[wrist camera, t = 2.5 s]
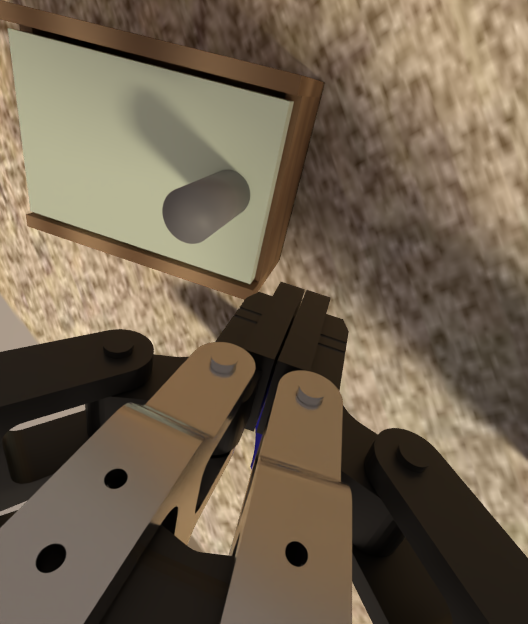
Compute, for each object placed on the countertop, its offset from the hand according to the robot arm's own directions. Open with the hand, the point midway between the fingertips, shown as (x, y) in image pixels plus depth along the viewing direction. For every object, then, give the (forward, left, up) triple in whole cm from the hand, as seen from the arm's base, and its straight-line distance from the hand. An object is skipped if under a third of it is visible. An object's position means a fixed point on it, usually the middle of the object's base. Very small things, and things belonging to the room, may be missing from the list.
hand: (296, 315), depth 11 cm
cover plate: (+11, 0, -11) cm, 16 cm away
